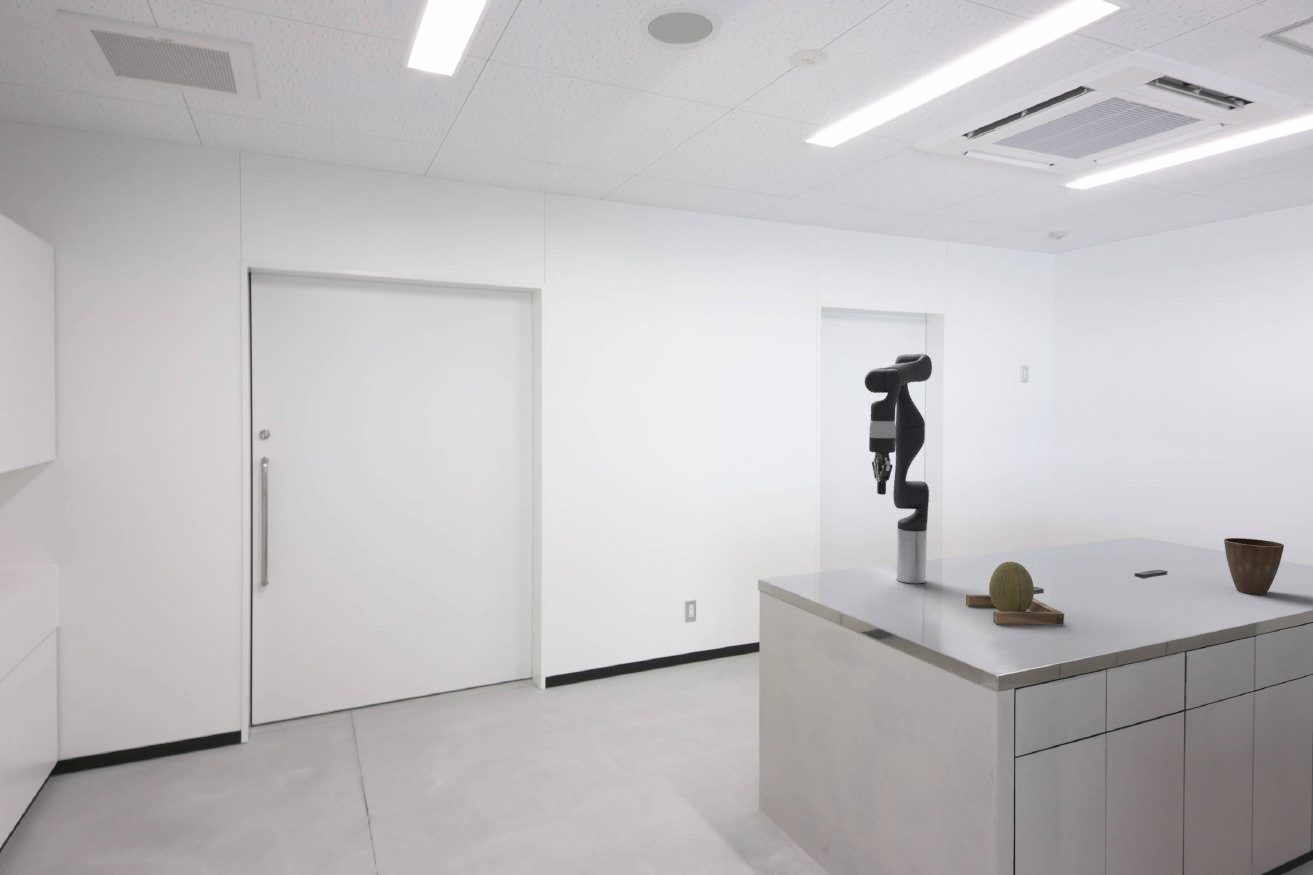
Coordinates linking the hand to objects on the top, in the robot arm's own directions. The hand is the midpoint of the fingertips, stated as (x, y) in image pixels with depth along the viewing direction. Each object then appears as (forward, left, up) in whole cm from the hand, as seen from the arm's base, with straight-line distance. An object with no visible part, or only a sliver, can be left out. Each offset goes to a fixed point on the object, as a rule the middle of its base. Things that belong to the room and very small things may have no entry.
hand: (881, 494), depth 227 cm
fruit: (+15, +32, -32) cm, 48 cm away
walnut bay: (+15, +32, -32) cm, 48 cm away
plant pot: (-11, +121, -32) cm, 126 cm away
